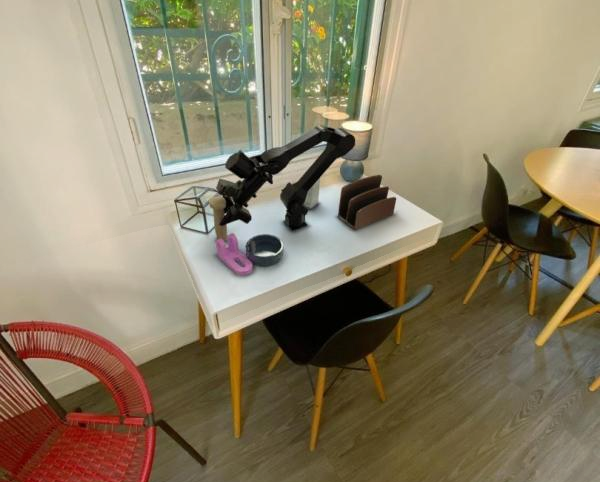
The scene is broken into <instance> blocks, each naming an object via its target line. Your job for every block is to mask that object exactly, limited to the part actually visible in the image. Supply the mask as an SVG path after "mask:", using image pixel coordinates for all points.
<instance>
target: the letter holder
mask: <svg viewBox="0 0 600 482" xmlns="http://www.w3.org/2000/svg"><path fill="white" fill-rule="evenodd" d="M382 180H383V175H382V174H375V175H370V176H366V177H363V178H360V179H358V180H354V181H352V182H350V183H347V184H345V185H344V186H342V188H341V189H340V197H339V204H338V211H337V218H338V219H340V220H341V221H342V222H344V223H345V224H346V225H348V226H349V227H350V228H352V230H354V231H355V230H358V229H360V228H363V227H365V226H369V225H371V224H374V223H375V222H378V221H381V220H383V219H385V218H388V217H390V216H393V215H394V213H395V208H396V203H397V197H396V196H391V197H388V195H389V191H390V187H389V186H381V184H382Z"/></svg>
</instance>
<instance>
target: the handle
mask: <svg viewBox="0 0 600 482" xmlns="http://www.w3.org/2000/svg"><path fill="white" fill-rule="evenodd" d="M208 204H209V207H210V208H211V209H212V211H213V213H212V214H213V223H214V224H213V227H214V231H215V235H216V240H218V239H220V238H221V239H223V241H224V242H226V241H227V240H228V239H227V236H228V224H226V225H224V226H220V225H219V223H220V222H221V220H222V219H223V217H224V216H225V215H226V214H225V213H224V208H225V207H226V200H225V199H224V198H223V197H222V195H215V196H212V197H209V199H208Z"/></svg>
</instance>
